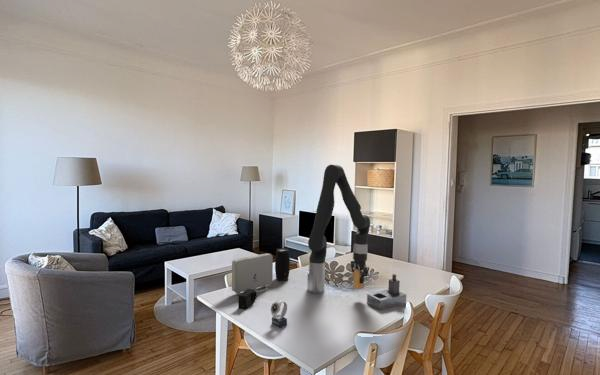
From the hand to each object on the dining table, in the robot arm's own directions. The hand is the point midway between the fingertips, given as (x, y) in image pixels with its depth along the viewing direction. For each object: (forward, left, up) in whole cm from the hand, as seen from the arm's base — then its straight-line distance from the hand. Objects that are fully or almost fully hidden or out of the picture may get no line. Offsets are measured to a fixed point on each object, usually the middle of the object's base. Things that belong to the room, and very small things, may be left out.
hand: (358, 281), depth 182 cm
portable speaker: (-24, +48, -10) cm, 54 cm away
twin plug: (+15, -11, -8) cm, 21 cm away
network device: (-48, +38, -10) cm, 62 cm away
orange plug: (0, 0, -3) cm, 3 cm away
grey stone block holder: (+10, -11, -10) cm, 18 cm away
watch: (-52, -7, -10) cm, 53 cm away
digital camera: (-57, +19, -10) cm, 61 cm away
